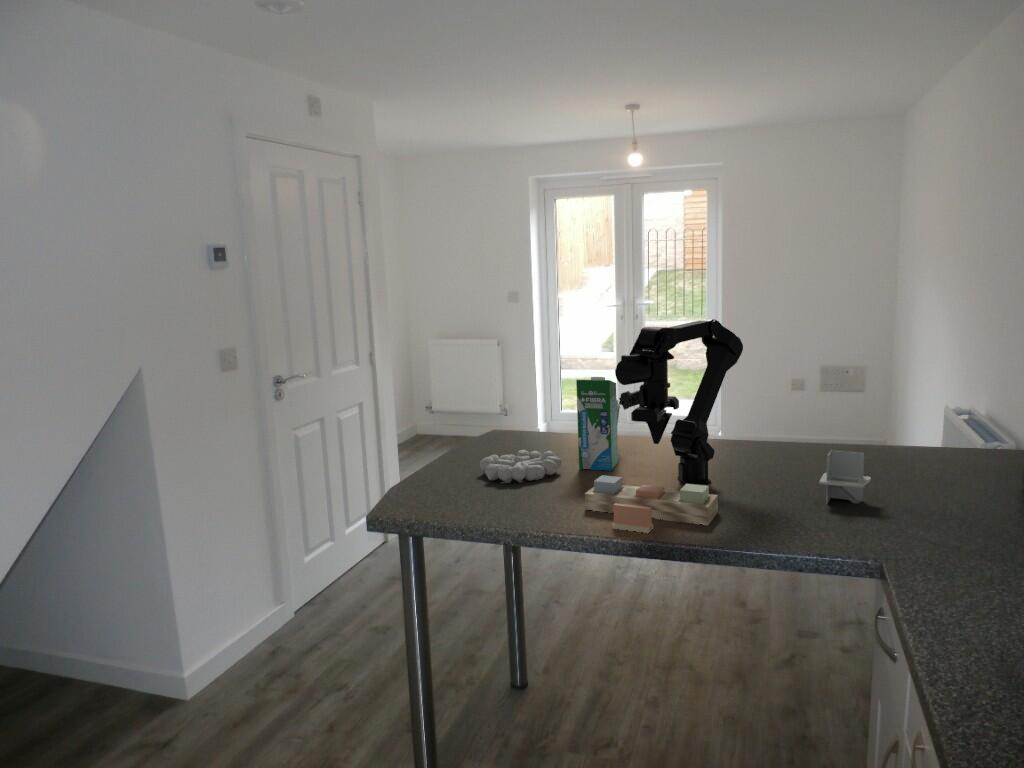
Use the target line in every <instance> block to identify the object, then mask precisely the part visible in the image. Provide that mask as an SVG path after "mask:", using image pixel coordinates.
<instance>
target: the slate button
mask: <svg viewBox="0 0 1024 768" xmlns="http://www.w3.org/2000/svg"><path fill="white" fill-rule="evenodd" d="M622 485H623V477H622V476H613V475H602V474H601V476H599V477H598V478H596V479H594V481H593V487H594V492H597V493H606V494H615V495H616V494H617V493H618V492H620V491H621V490H622Z"/></svg>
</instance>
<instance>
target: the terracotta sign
mask: <svg viewBox="0 0 1024 768" xmlns="http://www.w3.org/2000/svg"><path fill="white" fill-rule="evenodd" d="M613 511H614V514H613V523H612V524H611V525H612V530H618V529H619V530H621V531H626V530H628V531H627V532H633V531H636V532H635V533H641V532H643V534H648V533H649V532H650V531H651V530H652V529H653V530H654V524H653V519H652V507H644V506H636V505H627V504H618V503H615V504H614V505H613ZM653 530H652V531H653ZM652 531H651V532H652ZM651 532H650V533H651ZM650 533H649V534H650Z"/></svg>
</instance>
